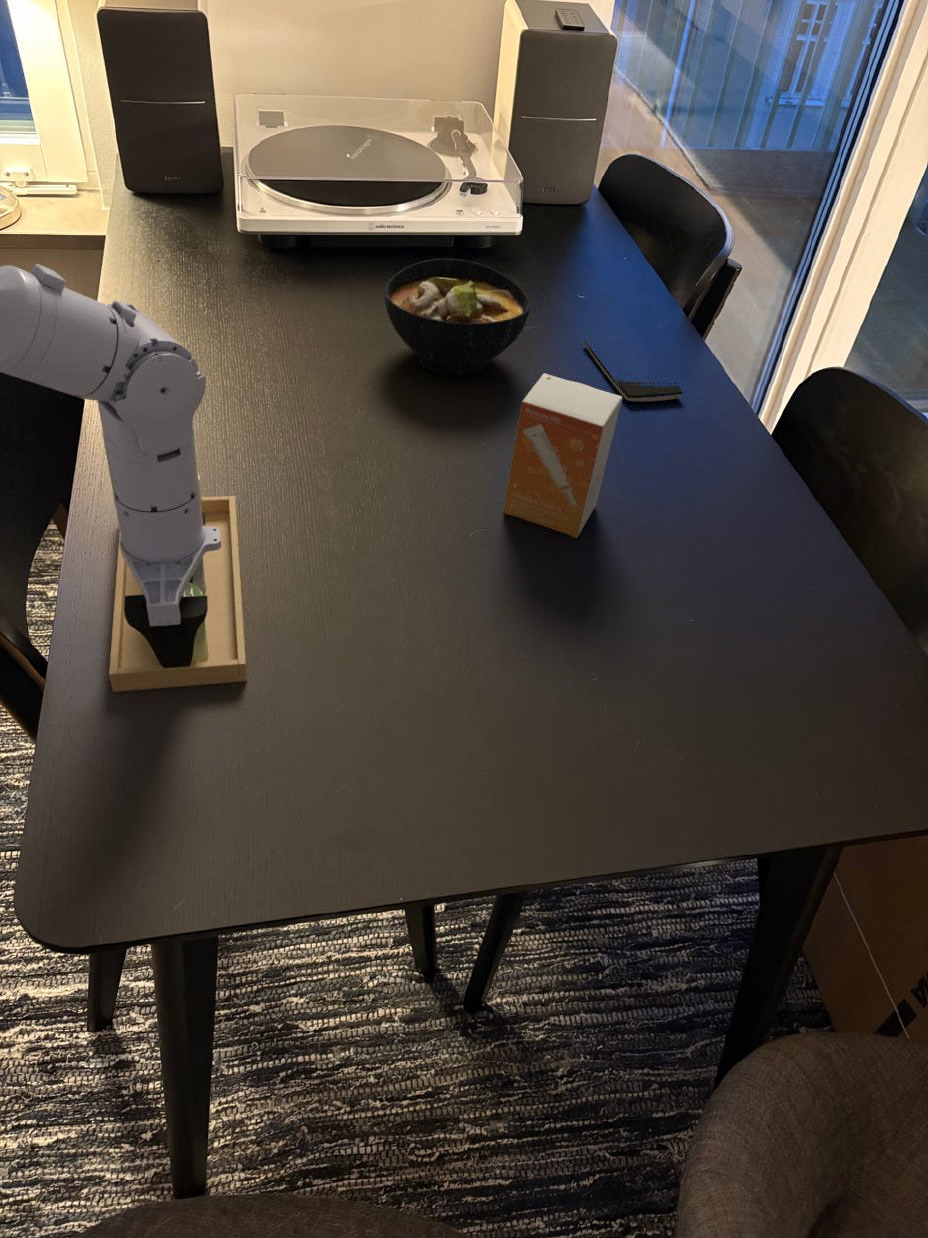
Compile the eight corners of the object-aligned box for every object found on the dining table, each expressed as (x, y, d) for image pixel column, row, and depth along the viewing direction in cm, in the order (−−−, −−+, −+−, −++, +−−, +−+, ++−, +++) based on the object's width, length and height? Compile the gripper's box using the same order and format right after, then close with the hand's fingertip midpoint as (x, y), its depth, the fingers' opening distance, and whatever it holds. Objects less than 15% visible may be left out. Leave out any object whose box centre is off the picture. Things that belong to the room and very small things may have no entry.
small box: (501, 514, 97) (519, 399, 88) (523, 482, 101) (543, 370, 92) (578, 540, 95) (604, 425, 86) (597, 506, 99) (624, 394, 90)
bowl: (509, 328, 126) (519, 253, 119) (531, 397, 114) (544, 318, 107) (378, 323, 124) (381, 246, 117) (386, 393, 111) (390, 312, 105)
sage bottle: (152, 675, 76) (138, 596, 70) (153, 636, 79) (139, 557, 73) (209, 671, 77) (200, 592, 71) (208, 632, 80) (199, 554, 74)
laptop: (635, 333, 126) (685, 392, 116) (633, 341, 127) (682, 401, 117) (583, 335, 124) (629, 396, 114) (581, 344, 125) (627, 405, 115)
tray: (112, 692, 75) (108, 674, 74) (124, 517, 91) (121, 500, 89) (247, 681, 77) (245, 663, 76) (236, 512, 93) (235, 495, 91)
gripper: (218, 551, 63) (232, 692, 72) (213, 428, 73) (226, 566, 82) (103, 557, 61) (132, 701, 70) (114, 431, 71) (138, 571, 81)
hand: (176, 629), depth 76 cm, fingers open, 7 cm apart
